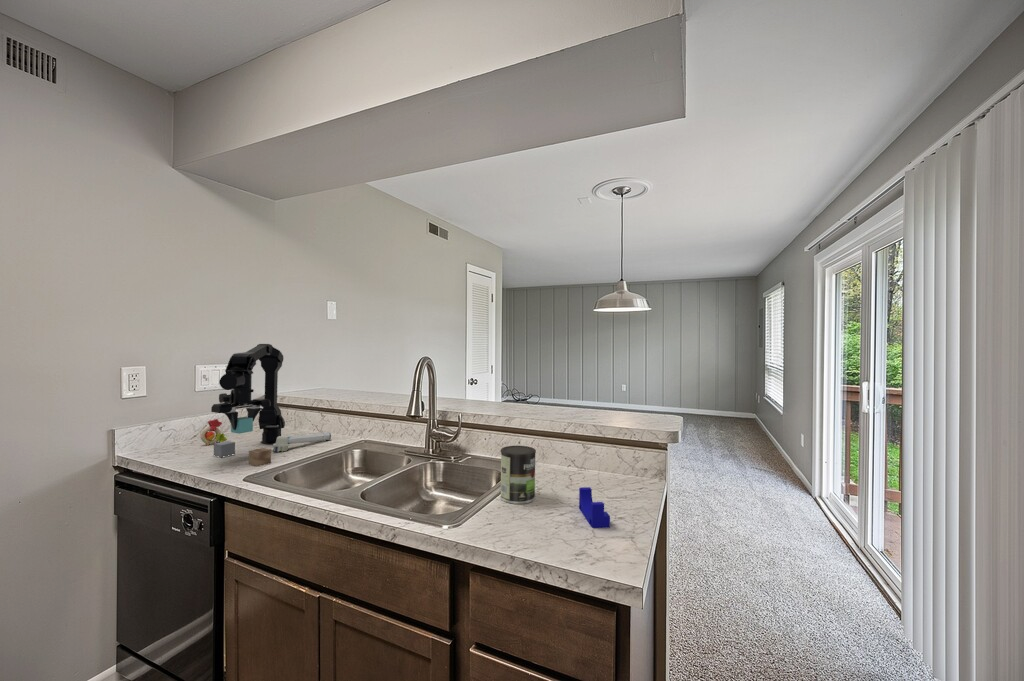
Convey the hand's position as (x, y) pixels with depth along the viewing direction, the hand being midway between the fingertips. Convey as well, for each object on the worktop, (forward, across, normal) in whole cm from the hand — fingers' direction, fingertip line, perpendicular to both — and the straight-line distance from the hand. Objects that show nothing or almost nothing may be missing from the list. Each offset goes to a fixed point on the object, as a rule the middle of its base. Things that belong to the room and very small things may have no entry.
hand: (241, 428), depth 157 cm
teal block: (+1, 0, 0) cm, 1 cm away
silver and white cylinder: (+12, -24, +2) cm, 27 cm away
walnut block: (+12, 0, +11) cm, 16 cm away
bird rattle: (+12, -8, -33) cm, 36 cm away
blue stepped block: (+12, -12, +132) cm, 133 cm away
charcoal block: (+12, 0, -11) cm, 16 cm away
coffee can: (+12, -15, +108) cm, 110 cm away
